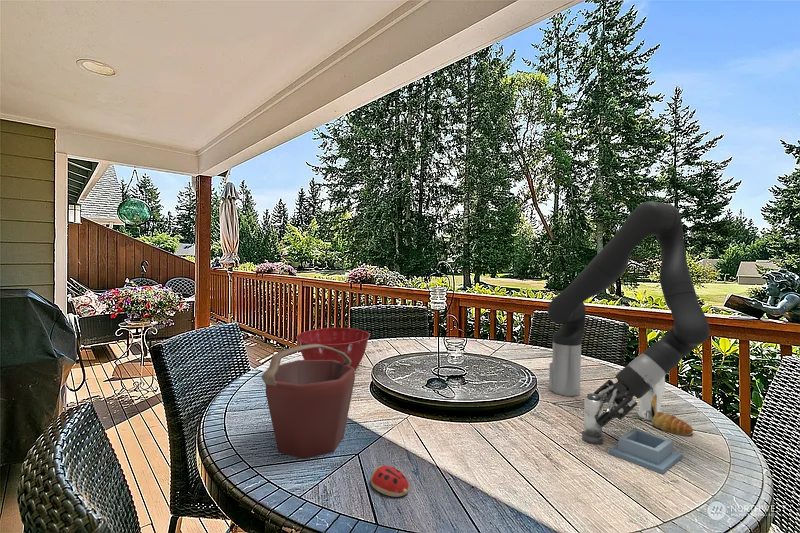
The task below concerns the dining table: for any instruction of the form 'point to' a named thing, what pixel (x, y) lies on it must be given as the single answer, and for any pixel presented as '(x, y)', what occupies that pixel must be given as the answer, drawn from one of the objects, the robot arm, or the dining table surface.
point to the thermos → (592, 419)
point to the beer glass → (652, 401)
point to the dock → (646, 450)
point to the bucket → (308, 402)
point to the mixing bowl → (335, 344)
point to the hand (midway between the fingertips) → (592, 417)
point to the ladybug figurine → (389, 481)
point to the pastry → (671, 424)
